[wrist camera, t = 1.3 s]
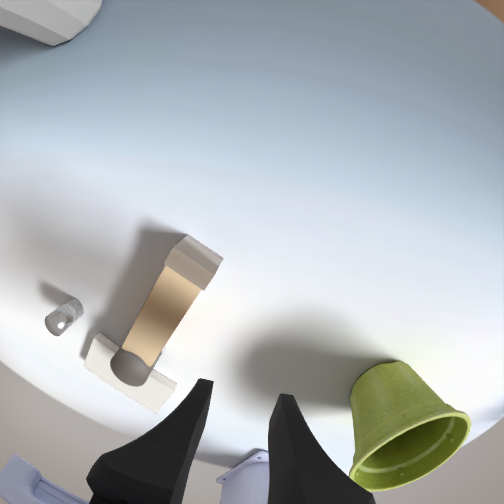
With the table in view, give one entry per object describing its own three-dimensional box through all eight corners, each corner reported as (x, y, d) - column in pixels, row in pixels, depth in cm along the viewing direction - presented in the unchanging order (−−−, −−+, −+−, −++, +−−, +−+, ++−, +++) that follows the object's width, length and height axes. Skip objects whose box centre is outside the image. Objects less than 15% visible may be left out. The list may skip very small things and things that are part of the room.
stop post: (80, 320, 21) (59, 340, 18) (66, 308, 21) (43, 326, 18) (85, 306, 21) (63, 325, 18) (70, 293, 21) (46, 311, 17)
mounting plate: (159, 406, 23) (155, 413, 23) (88, 360, 23) (83, 365, 22) (177, 383, 22) (173, 391, 21) (99, 332, 22) (93, 337, 21)
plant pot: (395, 322, 20) (446, 394, 12) (443, 372, 21) (483, 432, 13) (309, 395, 22) (320, 478, 14) (370, 431, 23) (389, 497, 15)
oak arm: (153, 366, 22) (138, 392, 19) (123, 346, 22) (105, 370, 18) (224, 259, 19) (215, 277, 16) (186, 233, 19) (169, 247, 16)
